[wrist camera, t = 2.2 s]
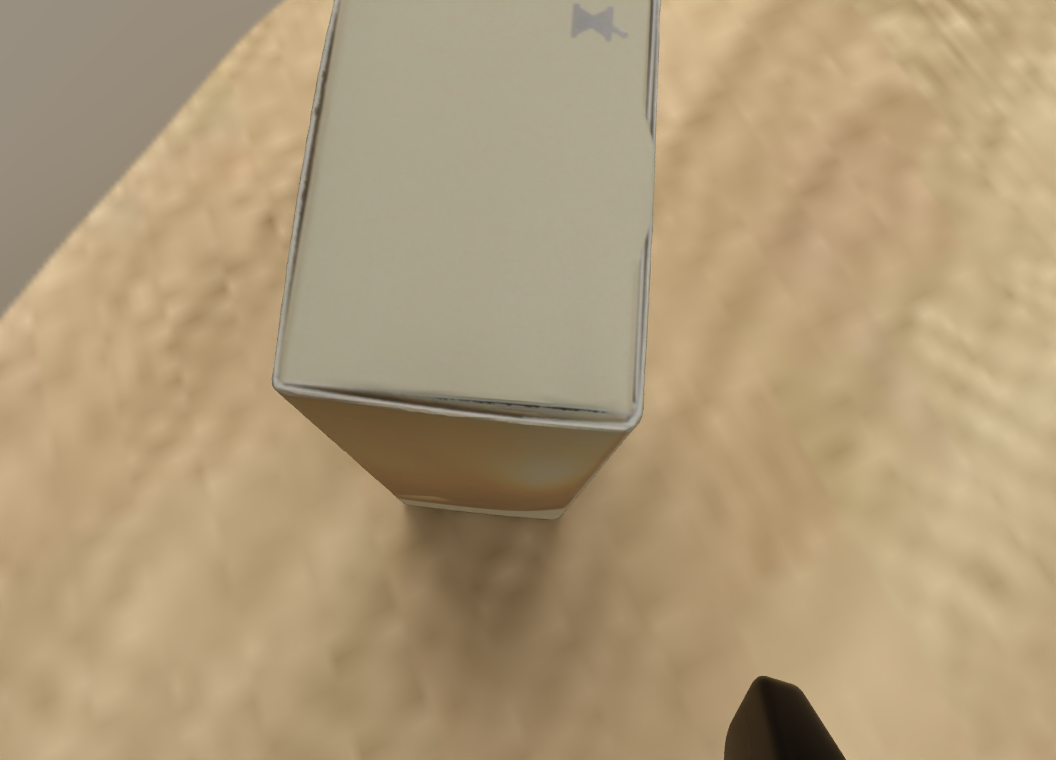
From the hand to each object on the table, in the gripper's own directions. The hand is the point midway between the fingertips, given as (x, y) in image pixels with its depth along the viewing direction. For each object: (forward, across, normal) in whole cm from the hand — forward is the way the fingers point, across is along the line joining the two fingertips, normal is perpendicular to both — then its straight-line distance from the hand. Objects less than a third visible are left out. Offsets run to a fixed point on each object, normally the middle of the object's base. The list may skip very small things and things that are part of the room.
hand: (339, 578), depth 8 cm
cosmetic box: (+12, 0, +5) cm, 13 cm away
